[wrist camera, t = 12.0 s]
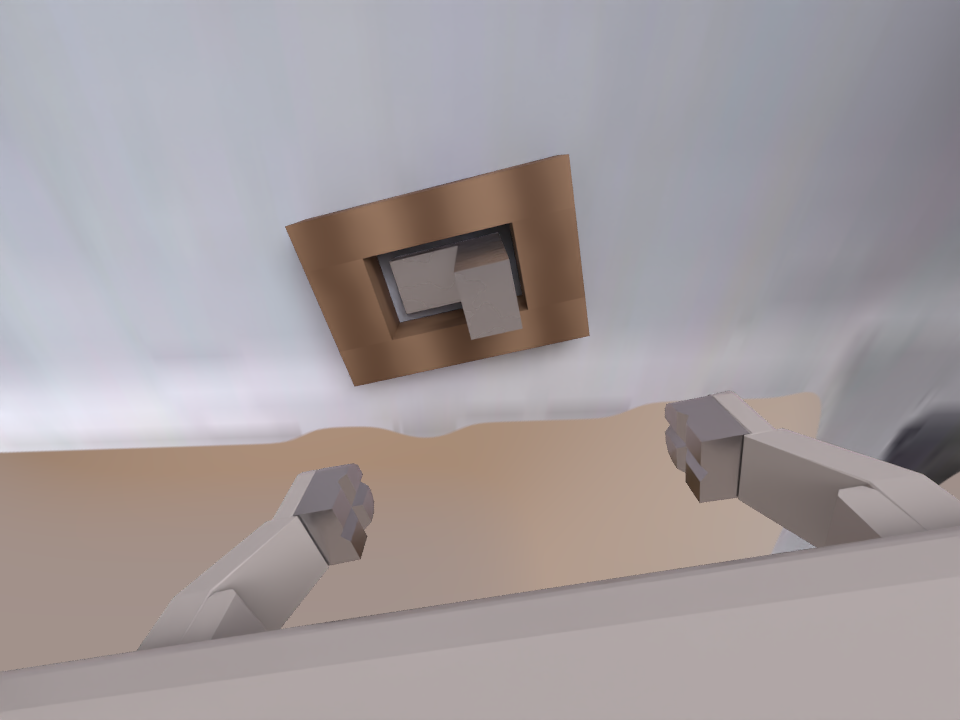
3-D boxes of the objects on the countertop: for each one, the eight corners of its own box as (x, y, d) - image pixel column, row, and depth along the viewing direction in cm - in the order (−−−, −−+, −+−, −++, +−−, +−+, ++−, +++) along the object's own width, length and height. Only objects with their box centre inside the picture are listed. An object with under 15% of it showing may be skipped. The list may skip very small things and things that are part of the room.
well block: (557, 155, 27) (568, 154, 23) (577, 318, 32) (589, 335, 29) (305, 219, 28) (285, 226, 25) (365, 365, 33) (354, 386, 30)
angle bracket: (498, 232, 29) (509, 259, 21) (508, 284, 30) (522, 328, 22) (393, 257, 29) (363, 293, 21) (409, 307, 31) (388, 358, 23)
